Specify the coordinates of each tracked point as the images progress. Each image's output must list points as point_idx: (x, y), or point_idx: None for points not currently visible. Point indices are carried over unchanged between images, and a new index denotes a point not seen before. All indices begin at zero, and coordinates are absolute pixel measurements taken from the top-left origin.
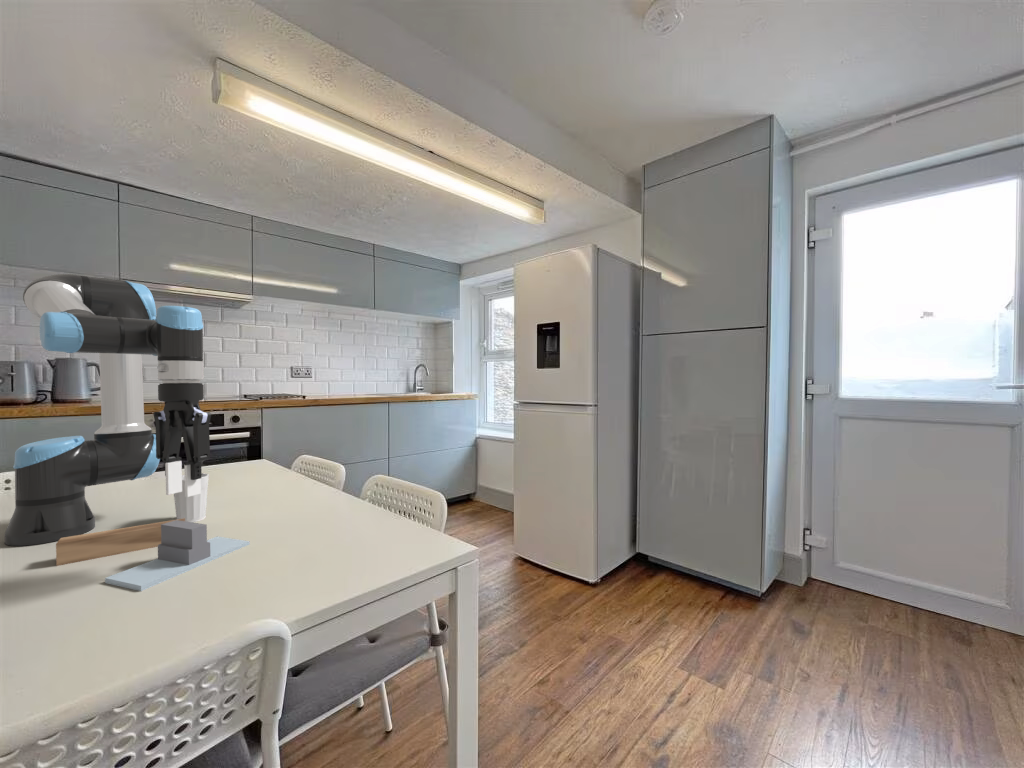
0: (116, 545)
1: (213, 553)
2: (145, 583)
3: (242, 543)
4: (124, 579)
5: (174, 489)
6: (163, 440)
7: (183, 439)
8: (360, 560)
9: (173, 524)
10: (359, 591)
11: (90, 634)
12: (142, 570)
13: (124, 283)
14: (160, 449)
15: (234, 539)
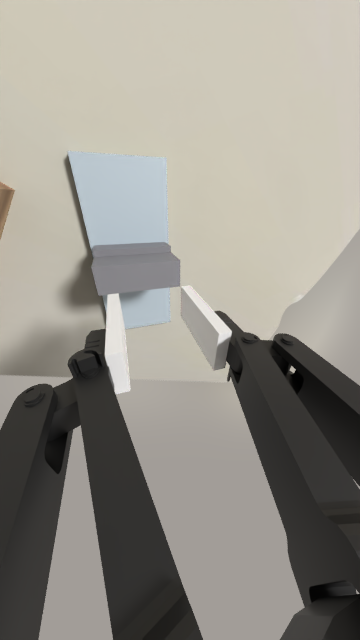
0: None
1: (158, 231)
2: (168, 317)
3: (163, 173)
4: (136, 323)
5: (122, 317)
6: (46, 531)
7: (267, 474)
8: (350, 159)
9: (120, 285)
10: (352, 236)
11: (201, 355)
12: (127, 305)
13: None
14: (64, 465)
15: (126, 157)
